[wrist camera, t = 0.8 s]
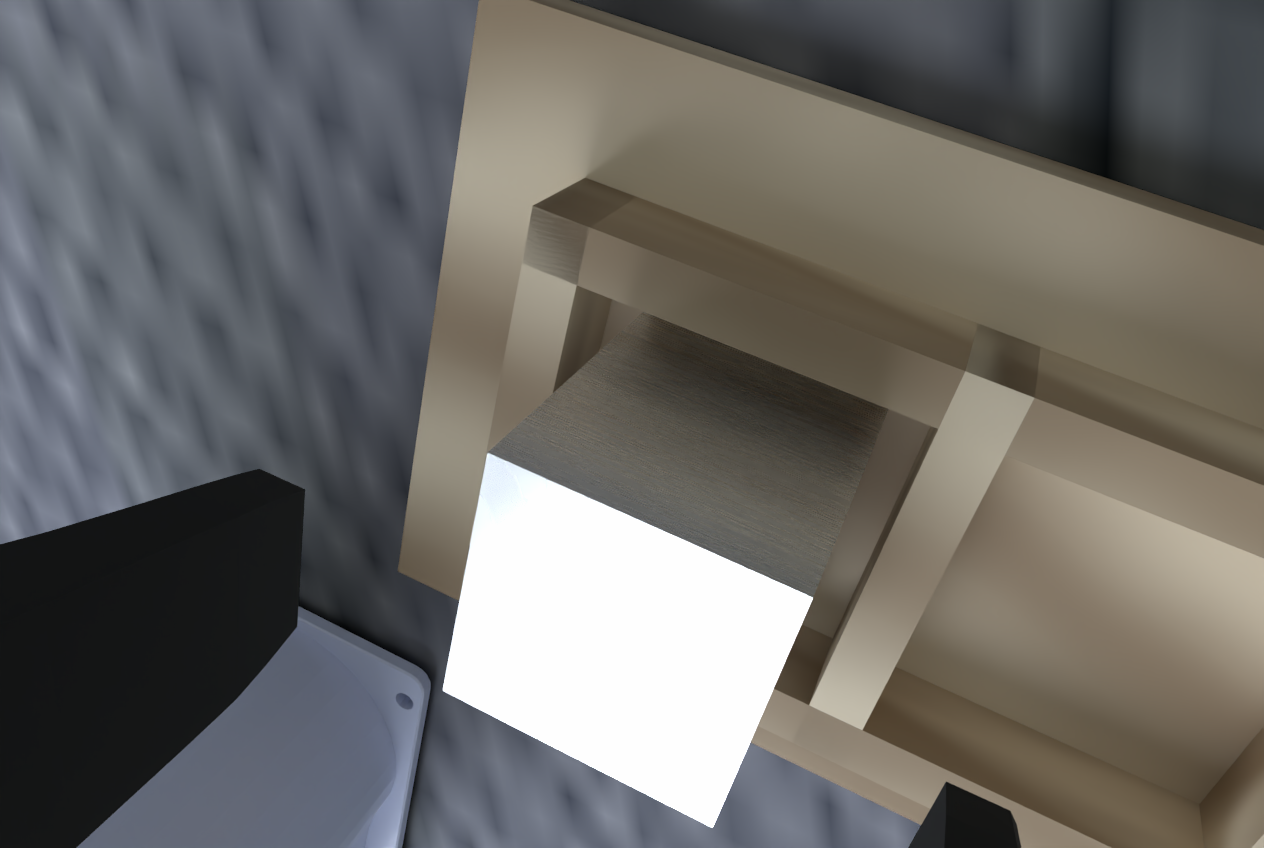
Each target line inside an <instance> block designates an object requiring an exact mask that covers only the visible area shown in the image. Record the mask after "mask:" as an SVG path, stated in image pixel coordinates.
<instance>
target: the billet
mask: <svg viewBox="0 0 1264 848" xmlns="http://www.w3.org/2000/svg"><path fill="white" fill-rule="evenodd" d="M888 410H889V409H887V408H884V407H882V406H879V405H877V404H874V403H872V402H869V401H867V400H864V399H862V398H859V397H857V396H854V395H852V394H849V393H846V392H844V391H841V390H839V389H836V388H834V387H831V386H829V385H826V384H824V383H821V382H819V381H816V380H814V379H811V378H809V377H806V376H804V375H801V374H799V373H796V372H794V371H791V370H789V369H786V368H784V367H781V366H779V365H776V364H774V363H771V362H769V361H766V360H763V359H761V358H758V357H756V356H753V355H751V354H748V353H746V352H743V351H741V350H738V349H736V348H733V347H731V346H728V345H726V344H723V343H721V342H718V341H716V340H713V339H711V338H708V337H706V336H703V335H701V334H698V333H696V332H693V331H691V330H688V329H686V328H683V327H680V326H678V325H675V324H673V323H670V322H668V321H665V320H663V319H660V318H658V317H655V316H653V315H650V314H648V313H645V312H642V313H641V314H640V315H639V316H638V317H637V318H636V319H634V320H633V321H632V322H631V323H630V324H629V325H628V326H627V327H626V328H625V329H623V330H622V331H621V332H620V333H619V334H618V335H617V336H616V337H615V338H613V339H612V340H611V341H610V342H609V343H608V344H607V345H606V346H605V347H604V348H602V349H601V350H600V351H599V352H598V353H597V354H596V355H595V356H594V357H592V358H591V359H590V360H589V361H588V362H587V363H586V364H585V365H584V366H583V367H581V368H580V369H579V370H578V371H577V372H576V373H575V374H574V375H573V376H572V377H570V378H569V379H568V380H567V381H566V382H565V383H564V384H563V385H562V386H560V387H559V388H558V389H557V390H556V391H555V392H554V393H553V394H552V395H551V396H549V397H548V398H547V399H546V400H545V401H544V402H543V403H542V404H541V405H539V406H538V407H537V408H536V409H535V410H534V411H533V412H532V413H531V414H530V415H528V416H527V417H526V418H525V419H524V420H523V421H522V422H521V423H520V424H518V425H517V426H516V427H515V428H514V429H513V430H512V431H511V432H510V433H509V434H507V435H506V436H505V437H504V438H503V439H502V440H501V441H500V442H499V443H497V444H496V445H495V446H494V447H493V448H492V449H491V450H490V451H489V452H488V453H487V458H486V463H485V468H484V474H483V479H482V484H481V490H480V495H479V500H478V505H477V511H476V516H475V521H474V527H473V532H472V537H471V543H470V548H469V553H468V558H467V564H466V569H465V574H464V580H463V585H462V590H461V596H460V601H459V606H458V611H457V617H456V622H455V627H454V633H453V638H452V643H451V649H450V654H449V659H448V664H447V670H446V675H445V680H444V686H443V691H444V692H446V693H448V694H450V695H452V696H454V697H456V698H458V699H460V700H462V701H464V702H466V703H468V704H470V705H472V706H474V707H475V708H477V709H479V710H481V711H483V712H485V713H487V714H489V715H491V716H493V717H495V718H497V719H499V720H501V721H503V722H505V723H507V724H509V725H511V726H513V727H515V728H517V729H519V730H521V731H523V732H525V733H527V734H529V735H531V736H532V737H534V738H536V739H538V740H540V741H542V742H544V743H546V744H548V745H550V746H552V747H554V748H556V749H558V750H560V751H562V752H564V753H566V754H568V755H570V756H572V757H574V758H576V759H578V760H580V761H582V762H584V763H586V764H588V765H589V766H591V767H593V768H595V769H597V770H599V771H601V772H603V773H605V774H607V775H609V776H611V777H613V778H615V779H617V780H619V781H621V782H623V783H625V784H627V785H629V786H631V787H633V788H635V789H637V790H639V791H641V792H643V793H645V794H646V795H648V796H650V797H652V798H654V799H656V800H658V801H660V802H662V803H664V804H666V805H668V806H670V807H672V808H674V809H676V810H678V811H680V812H682V813H684V814H686V815H688V816H690V817H692V818H694V819H696V820H698V821H700V822H702V823H703V824H705V825H707V826H709V827H711V828H713V826H714V824H715V822H716V819H717V817H718V815H719V812H720V810H721V808H722V806H723V803H724V801H725V799H726V796H727V794H728V792H729V790H730V787H731V785H732V783H733V780H734V778H735V776H736V773H737V771H738V769H739V767H740V764H741V762H742V760H743V757H744V755H745V753H746V751H747V748H748V746H749V744H750V741H751V739H752V737H753V734H754V732H755V730H756V728H757V725H758V723H759V721H760V718H761V716H762V714H763V712H764V709H765V707H766V705H767V702H768V700H769V698H770V695H771V693H772V691H773V689H774V686H775V684H776V682H777V679H778V677H779V675H780V672H781V670H782V668H783V666H784V663H785V661H786V659H787V656H788V654H789V652H790V650H791V647H792V645H793V643H794V640H795V638H796V636H797V633H798V631H799V629H800V627H801V624H802V622H803V620H804V617H805V615H806V613H807V611H808V608H809V606H810V604H811V601H812V599H813V597H814V594H815V592H816V589H817V587H818V584H819V582H820V579H821V577H822V574H823V572H824V569H825V567H826V564H827V562H828V559H829V557H830V554H831V552H832V549H833V547H834V544H835V542H836V539H837V537H838V534H839V532H840V529H841V527H842V524H843V522H844V519H845V517H846V515H847V512H848V510H849V507H850V505H851V502H852V500H853V497H854V495H855V492H856V490H857V487H858V485H859V482H860V480H861V477H862V475H863V472H864V470H865V467H866V465H867V462H868V460H869V457H870V455H871V452H872V450H873V447H874V445H875V442H876V440H877V437H878V435H879V432H880V430H881V427H882V425H883V422H884V420H885V417H886V415H887V412H888Z"/></svg>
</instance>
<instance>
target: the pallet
mask: <svg viewBox="0 0 1264 848" xmlns="http://www.w3.org/2000/svg"><path fill="white" fill-rule="evenodd" d="M642 312H645V313H648V314H650V315H653V316H655V317H658V318H660V319H663V320H665V321H668V322H670V323H673V324H675V325H678V326H680V327H683V328H686V329H688V330H691V331H693V332H696V333H698V334H701V335H703V336H706V337H708V338H711V339H713V340H716V341H718V342H721V343H723V344H726V345H728V346H731V347H733V348H736V349H738V350H741V351H743V352H746V353H748V354H751V355H753V356H756V357H758V358H761V359H763V360H766V361H769V362H771V363H774V364H776V365H779V366H781V367H784V368H786V369H789V370H791V371H794V372H796V373H799V374H801V375H804V376H806V377H809V378H811V379H814V380H816V381H819V382H821V383H824V384H826V385H829V386H831V387H834V388H836V389H839V390H841V391H844V392H846V393H849V394H852V395H854V396H857V397H859V398H862V399H864V400H867V401H869V402H872V403H874V404H877V405H879V406H882V407H884V408H887V409H889V410H888V412H887V415H886V417H885V420H884V422H883V425H882V427H881V430H880V432H879V435H878V437H877V440H876V442H875V445H874V447H873V450H872V452H871V455H870V457H869V460H868V462H867V465H866V467H865V470H864V472H863V475H862V477H861V480H860V482H859V485H858V487H857V490H856V492H855V495H854V497H853V500H852V502H851V505H850V507H849V510H848V512H847V515H846V517H845V519H844V522H843V524H842V527H841V529H840V532H839V534H838V537H837V539H836V542H835V544H834V547H833V549H832V552H831V554H830V557H829V559H828V562H827V564H826V567H825V569H824V572H823V574H822V577H821V579H820V582H819V584H818V587H817V589H816V592H815V594H814V597H813V599H812V601H811V604H810V606H809V608H808V611H807V613H806V615H805V617H804V620H803V622H802V624H801V627H800V629H799V631H798V633H797V636H796V638H795V640H794V643H793V645H792V647H791V650H790V652H789V654H788V656H787V659H786V661H785V663H784V666H783V668H782V670H781V672H780V675H779V677H778V679H777V682H776V684H775V686H774V689H773V691H772V693H771V695H770V698H769V700H768V702H767V705H766V707H765V709H764V712H763V714H762V716H761V718H760V721H759V723H758V725H757V728H756V730H755V732H754V734H753V737H752V739H751V741H750V742H751V743H753V744H755V745H757V746H759V747H761V748H763V749H765V750H767V751H769V752H771V753H773V754H776V755H778V756H780V757H782V758H784V759H786V760H788V761H790V762H792V763H794V764H796V765H798V766H800V767H802V768H804V769H806V770H809V771H811V772H813V773H815V774H817V775H819V776H821V777H823V778H825V779H827V780H829V781H831V782H833V783H835V784H837V785H839V786H842V787H844V788H846V789H848V790H850V791H852V792H854V793H856V794H858V795H860V796H862V797H864V798H866V799H868V800H870V801H872V802H875V803H877V804H879V805H881V806H883V807H885V808H887V809H889V810H891V811H893V812H895V813H897V814H899V815H901V816H903V817H905V818H907V819H910V820H912V821H914V822H916V823H918V824H920V825H922V823H923V821H924V819H925V818H926V816H927V814H928V812H929V811H930V809H931V807H932V805H933V804H934V802H935V800H936V798H937V797H938V795H939V793H940V791H941V789H942V788H943V786H944V784H945V782H949V783H951V784H953V785H955V786H957V787H960V788H962V789H964V790H966V791H968V792H971V793H973V794H975V795H977V796H979V797H981V798H984V799H986V800H988V801H990V802H992V803H995V804H997V805H999V806H1001V807H1003V808H1006V809H1008V810H1010V811H1011V813H1012V815H1013V817H1014V819H1015V822H1016V824H1017V828H1018V833H1019V838H1020V843H1021V848H1264V230H1262V229H1259V228H1256V227H1253V226H1249V225H1246V224H1243V223H1240V222H1237V221H1234V220H1231V219H1228V218H1225V217H1222V216H1219V215H1216V214H1213V213H1210V212H1207V211H1204V210H1201V209H1198V208H1195V207H1192V206H1189V205H1186V204H1183V203H1180V202H1177V201H1174V200H1171V199H1168V198H1165V197H1162V196H1159V195H1156V194H1153V193H1150V192H1147V191H1144V190H1141V189H1138V188H1135V187H1132V186H1129V185H1126V184H1123V183H1120V182H1117V181H1114V180H1111V179H1108V178H1105V177H1102V176H1099V175H1096V174H1093V173H1090V172H1086V171H1083V170H1080V169H1077V168H1074V167H1071V166H1068V165H1065V164H1062V163H1059V162H1056V161H1053V160H1050V159H1047V158H1044V157H1041V156H1038V155H1035V154H1032V153H1029V152H1026V151H1023V150H1020V149H1017V148H1014V147H1011V146H1008V145H1005V144H1002V143H999V142H996V141H993V140H990V139H987V138H984V137H981V136H978V135H975V134H972V133H969V132H966V131H963V130H960V129H957V128H954V127H951V126H948V125H945V124H942V123H939V122H936V121H933V120H930V119H927V118H923V117H920V116H917V115H914V114H911V113H908V112H905V111H902V110H899V109H896V108H893V107H890V106H887V105H884V104H881V103H878V102H875V101H872V100H869V99H866V98H863V97H860V96H857V95H854V94H851V93H848V92H845V91H842V90H839V89H836V88H833V87H830V86H827V85H824V84H821V83H818V82H815V81H812V80H809V79H806V78H803V77H800V76H797V75H794V74H791V73H788V72H785V71H782V70H779V69H776V68H773V67H770V66H767V65H763V64H760V63H757V62H754V61H751V60H748V59H745V58H742V57H739V56H736V55H733V54H730V53H727V52H724V51H721V50H718V49H715V48H712V47H709V46H706V45H703V44H700V43H697V42H694V41H691V40H688V39H685V38H682V37H679V36H676V35H673V34H670V33H667V32H664V31H661V30H658V29H655V28H652V27H649V26H646V25H643V24H640V23H637V22H634V21H631V20H628V19H625V18H622V17H619V16H616V15H613V14H610V13H607V12H604V11H600V10H597V9H594V8H591V7H588V6H585V5H582V4H579V3H576V2H573V1H570V0H479V4H478V11H477V18H476V25H475V32H474V39H473V46H472V53H471V60H470V67H469V74H468V81H467V88H466V95H465V102H464V109H463V116H462V123H461V130H460V137H459V144H458V151H457V158H456V165H455V172H454V179H453V186H452V193H451V200H450V207H449V214H448V221H447V228H446V236H445V243H444V250H443V257H442V264H441V271H440V278H439V285H438V292H437V299H436V306H435V313H434V320H433V327H432V334H431V341H430V348H429V355H428V362H427V369H426V376H425V383H424V390H423V397H422V404H421V411H420V418H419V425H418V432H417V439H416V446H415V453H414V460H413V467H412V474H411V481H410V488H409V495H408V502H407V509H406V516H405V523H404V531H403V538H402V545H401V552H400V559H399V566H398V572H400V573H402V574H404V575H406V576H409V577H411V578H413V579H415V580H417V581H419V582H421V583H423V584H425V585H427V586H429V587H431V588H433V589H435V590H437V591H439V592H442V593H444V594H446V595H448V596H450V597H452V598H454V599H456V600H458V601H460V596H461V590H462V585H463V580H464V574H465V569H466V564H467V558H468V553H469V548H470V543H471V537H472V532H473V527H474V521H475V516H476V511H477V505H478V500H479V495H480V490H481V484H482V479H483V474H484V468H485V463H486V458H487V453H488V452H489V451H490V450H491V449H492V448H493V447H494V446H495V445H496V444H497V443H499V442H500V441H501V440H502V439H503V438H504V437H505V436H506V435H507V434H509V433H510V432H511V431H512V430H513V429H514V428H515V427H516V426H517V425H518V424H520V423H521V422H522V421H523V420H524V419H525V418H526V417H527V416H528V415H530V414H531V413H532V412H533V411H534V410H535V409H536V408H537V407H538V406H539V405H541V404H542V403H543V402H544V401H545V400H546V399H547V398H548V397H549V396H551V395H552V394H553V393H554V392H555V391H556V390H557V389H558V388H559V387H560V386H562V385H563V384H564V383H565V382H566V381H567V380H568V379H569V378H570V377H572V376H573V375H574V374H575V373H576V372H577V371H578V370H579V369H580V368H581V367H583V366H584V365H585V364H586V363H587V362H588V361H589V360H590V359H591V358H592V357H594V356H595V355H596V354H597V353H598V352H599V351H600V350H601V349H602V348H604V347H605V346H606V345H607V344H608V343H609V342H610V341H611V340H612V339H613V338H615V337H616V336H617V335H618V334H619V333H620V332H621V331H622V330H623V329H625V328H626V327H627V326H628V325H629V324H630V323H631V322H632V321H633V320H634V319H636V318H637V317H638V316H639V315H640V314H641V313H642Z"/></svg>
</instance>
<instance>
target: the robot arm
mask: <svg viewBox="0 0 1264 848" xmlns="http://www.w3.org/2000/svg"><path fill="white" fill-rule="evenodd" d="M304 498H305V489H302V488H300V487H298V486H296V485H294V484H291V483H289V482H287V481H285V480H283V479H281V478H278V477H276V476H274V475H272V474H270V473H267V472H265V471H263V470H261V469H257V470H253V471H249V472H245V473H241V474H237V475H234V476H230V477H227V478H223V479H220V480H217V481H213V482H210V483H206V484H203V485H200V486H197V487H193V488H190V489H187V490H183V491H180V492H177V493H174V494H171V495H167V496H164V497H161V498H158V499H154V500H151V501H148V502H145V503H142V504H138V505H135V506H132V507H129V508H125V509H122V510H119V511H115V512H112V513H109V514H105V515H102V516H99V517H95V518H92V519H89V520H85V521H82V522H79V523H75V524H72V525H69V526H66V527H62V528H59V529H56V530H52V531H49V532H45V533H42V534H38V535H34V536H31V537H27V538H23V539H19V540H15V541H12V542H8V543H4V544H0V848H402V845H403V840H404V834H405V829H406V823H407V817H408V812H409V806H410V801H411V795H412V790H413V784H414V778H415V773H416V767H417V762H418V756H419V751H420V745H421V739H422V734H423V728H424V723H425V717H426V712H427V706H428V700H429V695H430V689H431V684H430V680H429V678H428V676H427V674H426V673H425V672H424V671H423V670H422V669H421V668H419V667H418V666H416V665H414V664H412V663H410V662H408V661H406V660H404V659H402V658H400V657H398V656H396V655H394V654H392V653H390V652H388V651H386V650H384V649H383V648H381V647H379V646H377V645H375V644H373V643H371V642H369V641H367V640H365V639H363V638H361V637H359V636H357V635H355V634H353V633H351V632H349V631H347V630H345V629H343V628H341V627H339V626H337V625H335V624H333V623H331V622H329V621H327V620H325V619H323V618H321V617H319V616H317V615H315V614H313V613H311V612H309V611H307V610H305V609H303V608H301V607H299V606H298V605H299V587H300V569H301V551H302V533H303V516H304ZM909 848H1021V843H1020V838H1019V833H1018V828H1017V824H1016V822H1015V819H1014V817H1013V815H1012V813H1011V811H1010V810H1008V809H1006V808H1003V807H1001V806H999V805H997V804H995V803H992V802H990V801H988V800H986V799H984V798H981V797H979V796H977V795H975V794H973V793H971V792H968V791H966V790H964V789H962V788H960V787H957V786H955V785H953V784H951V783H949V782H945V784H944V786H943V788H942V789H941V791H940V793H939V795H938V797H937V798H936V800H935V802H934V804H933V805H932V807H931V809H930V811H929V812H928V814H927V816H926V818H925V819H924V821H923V823H922V825H921V826H920V828H919V830H918V832H917V833H916V835H915V837H914V839H913V841H912V842H911V844H910V846H909Z"/></svg>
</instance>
